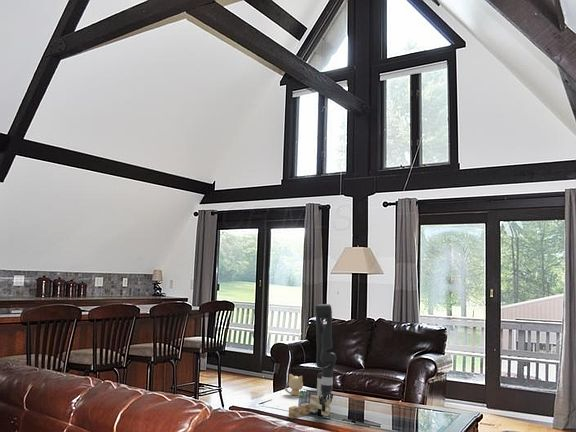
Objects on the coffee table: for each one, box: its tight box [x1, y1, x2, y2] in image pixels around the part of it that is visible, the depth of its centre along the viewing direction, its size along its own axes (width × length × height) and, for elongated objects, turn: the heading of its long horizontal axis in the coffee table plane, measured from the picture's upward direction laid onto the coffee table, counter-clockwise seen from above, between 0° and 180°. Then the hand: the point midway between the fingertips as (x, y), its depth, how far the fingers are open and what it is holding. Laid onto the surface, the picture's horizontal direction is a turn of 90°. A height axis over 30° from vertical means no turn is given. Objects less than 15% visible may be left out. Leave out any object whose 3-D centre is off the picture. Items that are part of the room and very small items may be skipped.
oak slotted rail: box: [287, 402, 311, 419], centre depth 329 cm, size 18×4×6 cm, turn 141°
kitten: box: [284, 373, 306, 398], centre depth 383 cm, size 15×10×15 cm
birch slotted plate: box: [309, 394, 332, 417], centre depth 338 cm, size 4×14×10 cm, turn 51°
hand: (325, 410), depth 335 cm, fingers closed on birch slotted plate, 3 cm apart
